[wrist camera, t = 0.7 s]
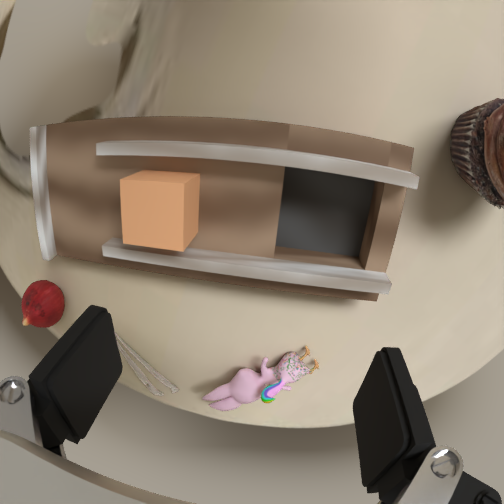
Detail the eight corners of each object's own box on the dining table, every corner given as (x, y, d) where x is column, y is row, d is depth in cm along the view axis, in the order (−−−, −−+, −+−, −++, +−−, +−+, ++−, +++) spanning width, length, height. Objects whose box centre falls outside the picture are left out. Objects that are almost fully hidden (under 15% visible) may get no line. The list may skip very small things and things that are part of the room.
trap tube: (57, 123, 25) (26, 128, 21) (401, 144, 23) (424, 150, 19) (66, 243, 31) (40, 261, 26) (369, 285, 29) (381, 313, 24)
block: (143, 169, 24) (119, 179, 20) (200, 173, 23) (184, 183, 20) (144, 226, 26) (123, 243, 22) (198, 232, 25) (183, 251, 22)
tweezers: (182, 387, 39) (177, 396, 37) (160, 392, 41) (155, 401, 39) (103, 287, 35) (95, 295, 33) (84, 300, 37) (76, 307, 35)
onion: (41, 264, 33) (3, 295, 26) (73, 276, 33) (34, 311, 26) (47, 300, 35) (14, 332, 28) (77, 313, 35) (45, 349, 28)
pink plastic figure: (298, 327, 34) (192, 378, 36) (308, 360, 28) (186, 412, 30) (320, 361, 36) (220, 406, 38) (331, 394, 30) (218, 439, 32)
